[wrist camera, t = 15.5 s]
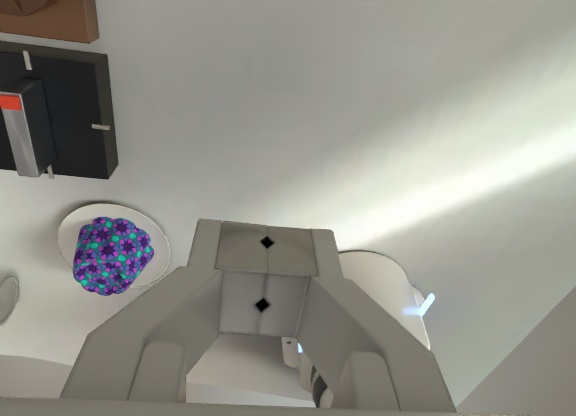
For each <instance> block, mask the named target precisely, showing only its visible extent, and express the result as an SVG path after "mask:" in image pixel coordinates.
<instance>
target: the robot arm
mask: <svg viewBox="0 0 576 416" xmlns="http://www.w3.org/2000/svg"><path fill="white" fill-rule="evenodd" d="M434 299H435V297H434V295H433V294H430V295H429V297H428V298H427V300H426V301H424V297H423V295H422V293H421V292H420V291H418V290H417V289H416V288H414V287H413V286H411V284H410V283H409V281H408V278H407V276H406V274H405V272H404V271H403V269H402V268H401V267H400V266H399V265H398V264H397V263H396V262H394V261H393V260H391V259H390V258H388V257H386V256H383V255H380V254H377V253H372V252H363V251H354V252H345V253H340V254H338V249H337V245H336V241H335V236H334V232H333V231H332V230H327V229H301V228H288V227H276V226H267V225H259V224H250V223H240V222H231V221H223V223H222V221H221V220H211V219H199V221H198V222H197V226H196V231H195V235H194V239H193V243H192V247H191V251H190V256H189V260H188V264H187V267H181V266H180V267H178V268H177V269H176V270H174V271H173V272H172V273H170V274H169V275H168V276H166V277H165V278H163V279H162V280H161V281H159V282H158V283H157V284H155V285H154V286H153V287H151V288H150V289H149V290H147V291H146V292H145V293H143V294H142V295H141V296H139V297H138V298H136V299H135V300H134V301H132V302H131V303H130V304H128V305H127V306H126V307H124V308H123V309H122V310H120V311H119V312H118V313H116V314H115V315H113V316H112V317H111V318H109V319H108V320H107V321H105V322H104V323H103V324H101V325H100V326H99V327H97V328H96V329H95V330H93V331H92V332H90V333H89V334H88V335H87V337H86V340H85V342H84V344H83V346H82V348H81V351H80V353H79V355H78V357H77V359H76V362H75V364H74V366H73V368H72V370H71V373H70V375H69V377H68V379H67V381H66V384H65V386H64V388H63V390H62V392H61V395H60V397H59V398H40V397H13V396H0V416H527V415H502V414H501V415H500V414H476V413H473V414H472V413H457V412H456V409H455V407H454V404H453V401H452V399H451V396H450V394H449V391H448V389H447V386H446V384H445V381H444V379H443V376H442V374H441V371H440V369H439V366H438V364H437V361H436V359H435V356H434V354H433V353H432V352H431V351H430V344H429V340H428V336H427V333H426V329H425V326H424V323H423V319H422V316H423V314H424V313H425V311H426V310H427V309H428V307H429V306H430V304H431V303H432V302H433V300H434ZM218 334H243V335H264V336H276V337H281V343H282V352H283V359H284V363H285V364H286V365H288V366H290V367H292V368H295V369H298V370H300V380H301V386H302V387H303V388H304V389H305V390H306V391H308V392H310V393H312V396H313V400H314V403H315V405H316V408H310V407H284V406H257V405H230V404H229V405H228V404H202V403H186V375H187V374H188V372H189V371H190V370H191V369H192V368H193V366H194V365H195V364H196V363H197V361H198V360H199V359H200V358H201V357H202V355H203V354H204V353H205V352H206V350H207V349H208V348H209V347H210V345H211V344H212V343H213V342H214V341H215V339H216V338H217V337H218Z"/></svg>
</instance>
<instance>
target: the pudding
mask: <svg viewBox="0 0 576 416" xmlns="http://www.w3.org/2000/svg"><path fill="white" fill-rule="evenodd" d="M57 241H58V246H59V250H60V252H61V254H62V256H63V258H64V259H65V260H66V262H67V263H68V264H69V265H70V266H71V267H72V268H73V276H74V278H75V279H76V281H77V282H79V283H81V284H82V287H83V288H84V289H86V290H87V291H90V292H97V293H98V294H100V295H104V296H107V295H111V294H112V293H115V294H119V293H122V292H124V291H125V290H127V289H128V288H135V287H140V286H144V285H147V284H149V283H151V282H153V281H155V280H156V279H158V278H159V277H160V276H161V275H162V274H163V273H164V272H165V270H166V269H167V267H168V265H169V262H170V256H171V252H170V246H169V243H168V240H167V238H166V236H165V235H164V233H163V231H162V230H161V229H160V228H159V227H158V226H157V225H156V224H155V223H154V222H153V221H152V220H150V219H149V218H148V217H146V216H144V215H143V214H141V213H139V212H137V211H135V210H133V209H130V208H127V207H124V206H120V205H114V204H92V205H87V206H84V207H80V208H78V209H76V210H74V211H72V212H71V213H70V214H69V215H67V216H66V217H65V219H64V220H63V221H62V222H61V224H60V227H59V229H58V234H57Z"/></svg>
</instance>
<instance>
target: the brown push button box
mask: <svg viewBox="0 0 576 416" xmlns="http://www.w3.org/2000/svg"><path fill="white" fill-rule="evenodd" d="M0 32H3V33H11V34H19V35H26V36H34V37H42V38H49V39H57V40H65V41H72V42H80V43H88V44H90V43H92V42H93V41H95V40H96V39H98V38H99V32H98V23H97V14H96V5H95V0H0Z"/></svg>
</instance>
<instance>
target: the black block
mask: <svg viewBox="0 0 576 416" xmlns="http://www.w3.org/2000/svg"><path fill="white" fill-rule="evenodd" d="M20 78H29V79H37V80H42V83H43V88H44V94H45V99H46V104H47V110H48V115H49V120H50V126H51V131H52V136H53V142H54V147H55V152H56V157H57V158H56V159H55V160H54V162H53V163H52V164H51V165H50V166H49V167H48V168H47V169H46V170H45V171H44V172H43V173H45V174H49V178H52V179H54V174H56V175H66V176H77V177H87V178H98V179H109V178H110V176H111V175H112V173H113V172H114V170H115V169H116V167H117V166H118V157H117V147H116V137H115V127H114V117H113V108H112V98H111V88H110V78H109V68H108V58H107V55H105V54H98V53H90V52H82V51H74V50H66V49H58V48H51V47H43V46H35V45H27V44H19V43H12V42H4V41H0V90H1V89H2V88H4V87H6V86H8V85H9V84H11V83H13V82H15V81H16V80H18V79H20ZM0 169H3V170H14V171H17V168H16V164H15V160H14V156H13V152H12V148H11V144H10V140H9V136H8V132H7V128H6V124H5V120H4V116H3V112H2V109H1V106H0Z"/></svg>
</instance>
